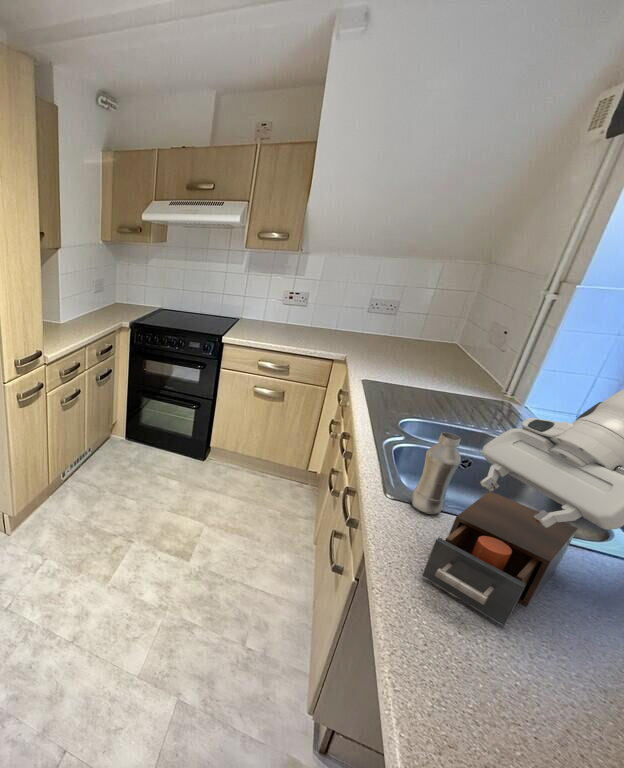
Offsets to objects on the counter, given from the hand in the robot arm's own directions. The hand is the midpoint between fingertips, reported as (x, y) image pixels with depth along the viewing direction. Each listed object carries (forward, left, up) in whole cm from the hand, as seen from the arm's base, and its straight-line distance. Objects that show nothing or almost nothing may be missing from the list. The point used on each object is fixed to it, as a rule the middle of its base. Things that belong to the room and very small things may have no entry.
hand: (510, 503), depth 70 cm
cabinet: (0, -13, -20) cm, 24 cm away
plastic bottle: (+16, -20, -20) cm, 33 cm away
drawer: (0, -1, -19) cm, 19 cm away
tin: (0, -1, -18) cm, 18 cm away
